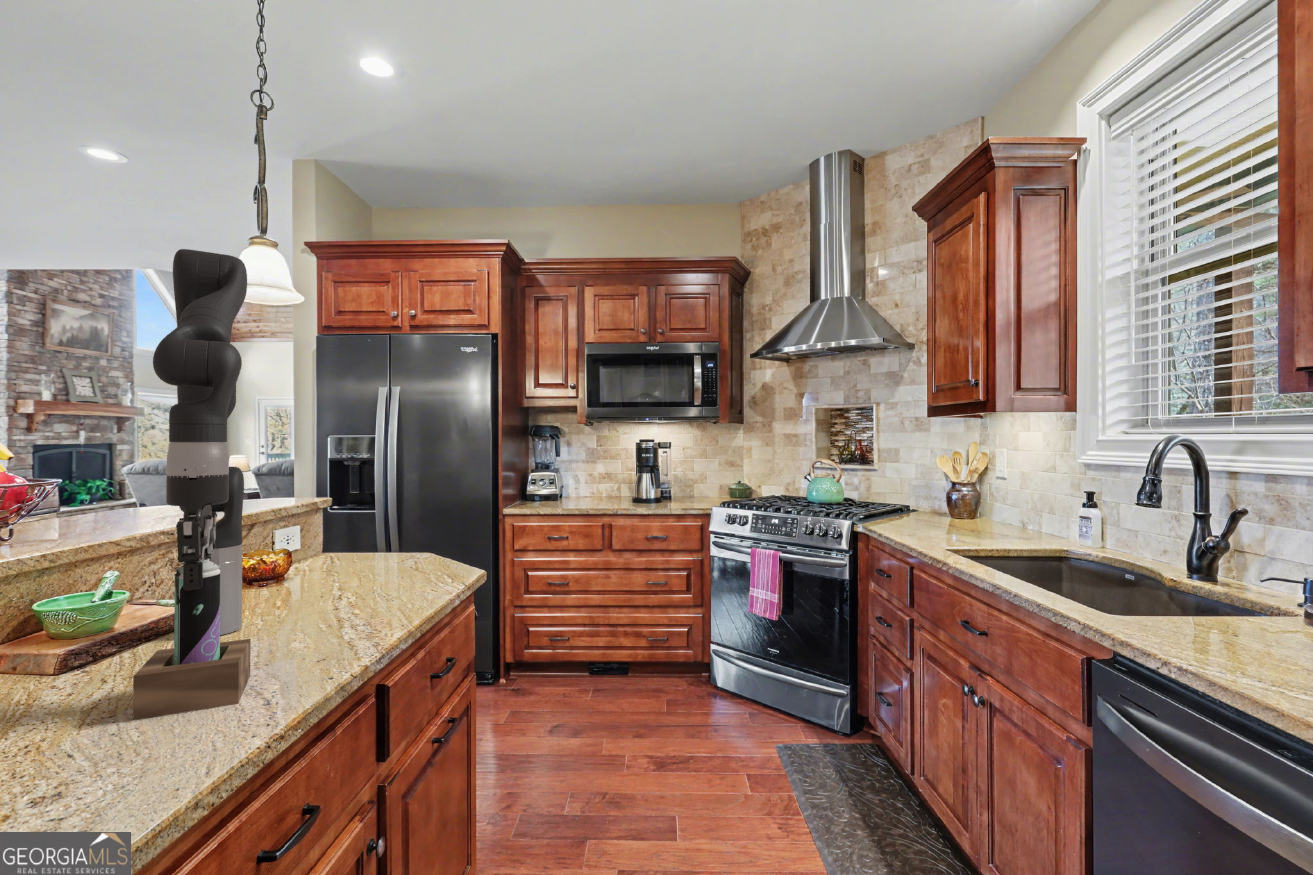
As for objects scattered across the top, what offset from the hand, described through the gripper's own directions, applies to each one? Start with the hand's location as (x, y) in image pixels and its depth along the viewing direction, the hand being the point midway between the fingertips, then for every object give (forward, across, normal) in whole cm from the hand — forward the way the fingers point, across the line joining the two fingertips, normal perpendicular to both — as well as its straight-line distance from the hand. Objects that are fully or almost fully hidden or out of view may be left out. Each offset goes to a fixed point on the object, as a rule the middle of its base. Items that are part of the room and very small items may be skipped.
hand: (197, 584), depth 92 cm
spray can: (+15, 0, 0) cm, 15 cm away
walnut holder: (+17, 0, 0) cm, 17 cm away
